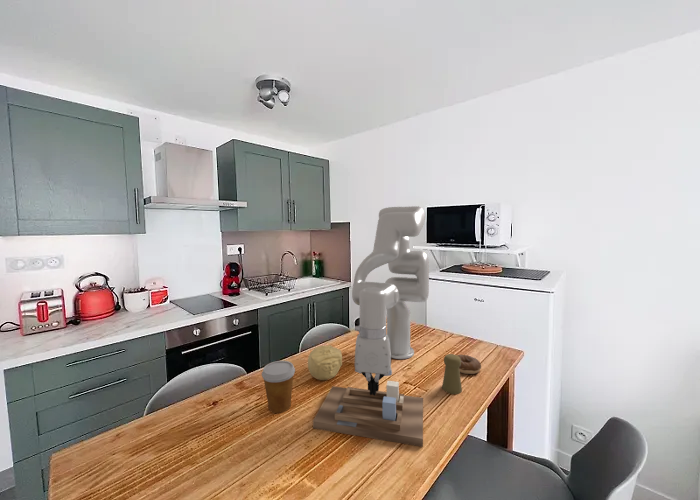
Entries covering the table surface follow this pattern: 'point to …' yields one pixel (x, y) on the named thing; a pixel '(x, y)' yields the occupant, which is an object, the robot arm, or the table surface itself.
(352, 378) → the table surface
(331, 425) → the switch board
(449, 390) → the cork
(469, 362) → the donut
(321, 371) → the sculpture
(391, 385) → the cream tab
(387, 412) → the slate-blue tab
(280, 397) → the disposable coffee cup
